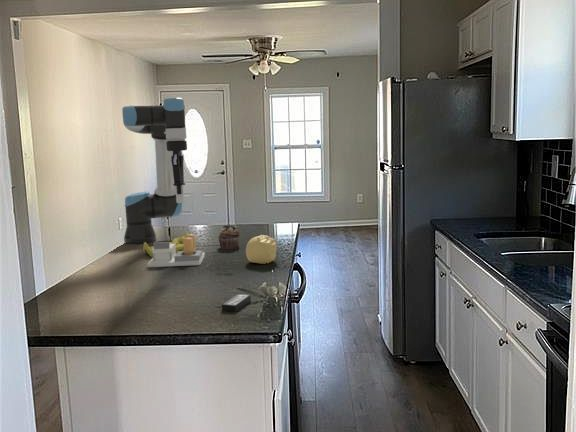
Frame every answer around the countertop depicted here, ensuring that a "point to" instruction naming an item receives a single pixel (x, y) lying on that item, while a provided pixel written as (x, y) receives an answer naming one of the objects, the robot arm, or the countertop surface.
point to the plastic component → (176, 241)
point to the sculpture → (261, 249)
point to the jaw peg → (188, 246)
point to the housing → (177, 257)
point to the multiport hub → (236, 303)
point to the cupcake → (229, 237)
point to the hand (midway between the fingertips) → (180, 202)
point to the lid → (163, 247)
